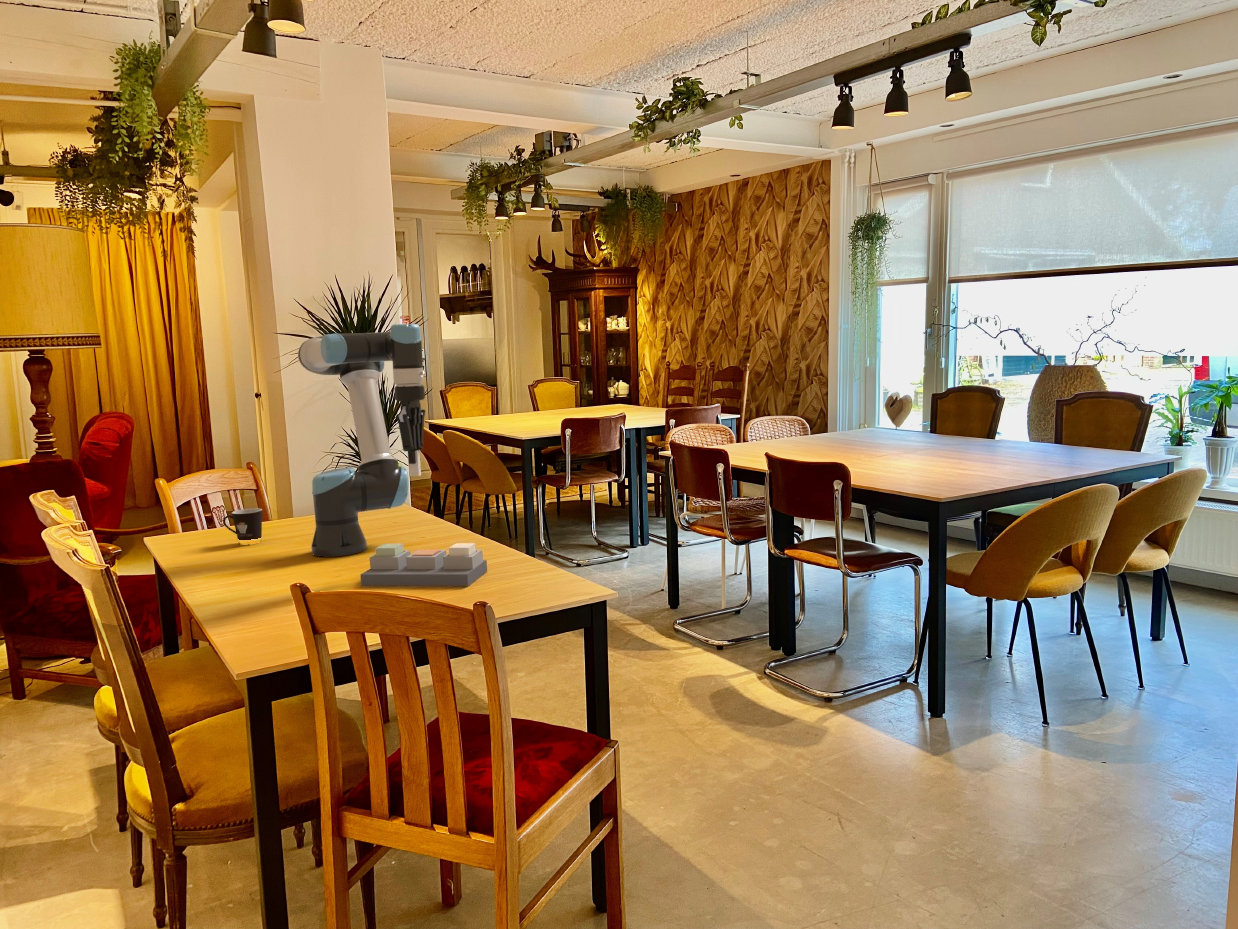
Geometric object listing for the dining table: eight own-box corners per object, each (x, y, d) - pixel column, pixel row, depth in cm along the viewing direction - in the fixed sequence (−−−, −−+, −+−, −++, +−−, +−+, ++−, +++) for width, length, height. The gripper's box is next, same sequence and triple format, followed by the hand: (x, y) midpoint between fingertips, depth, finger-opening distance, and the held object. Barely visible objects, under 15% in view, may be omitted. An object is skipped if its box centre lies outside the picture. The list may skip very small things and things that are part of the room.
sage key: (376, 560, 218) (375, 548, 218) (385, 556, 223) (384, 543, 223) (395, 560, 217) (394, 548, 217) (404, 556, 222) (403, 543, 222)
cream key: (449, 560, 215) (448, 547, 214) (457, 555, 220) (456, 543, 219) (469, 560, 214) (468, 547, 214) (476, 555, 219) (475, 543, 218)
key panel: (361, 586, 213) (359, 562, 213) (386, 571, 227) (384, 548, 226) (468, 586, 208) (466, 561, 208) (487, 571, 222) (485, 548, 221)
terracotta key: (413, 567, 217) (412, 554, 216) (421, 562, 222) (420, 549, 221) (432, 567, 216) (431, 554, 215) (440, 562, 221) (439, 549, 220)
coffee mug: (271, 541, 273) (268, 509, 272) (246, 547, 266) (243, 514, 264) (248, 538, 279) (244, 507, 278) (223, 544, 272) (219, 512, 271)
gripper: (412, 386, 220) (418, 480, 224) (432, 382, 233) (438, 471, 236) (384, 387, 221) (390, 480, 225) (406, 383, 234) (412, 471, 238)
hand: (415, 475), depth 231 cm, fingers closed
